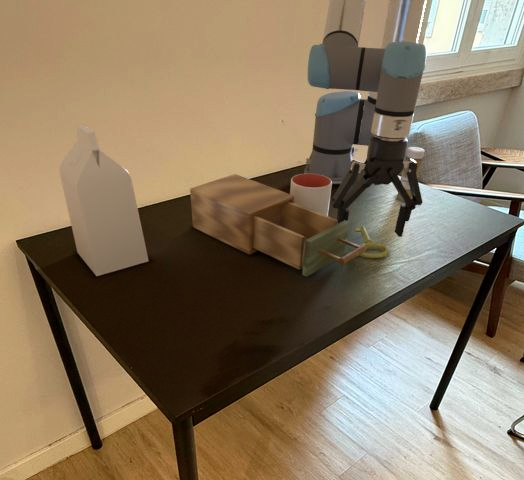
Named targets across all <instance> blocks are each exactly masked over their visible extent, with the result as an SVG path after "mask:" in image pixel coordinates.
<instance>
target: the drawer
mask: <svg viewBox="0 0 524 480" xmlns="http://www.w3.org/2000/svg"><path fill="white" fill-rule="evenodd" d="M252 217H253V218H252V248H255V249H257V250H259V251H258V252H261V253H263V254H265V255H267V256H269V257H272V258H274V259H276V260H278V261H280V262H282V263H284V264H286V265H288V266H291V267H293V268H294V269H297V270H299V271H301V270H302V271H301V272H302V273H301V275H302V276H304V277H306V278H307V277H308V276H310V275H312V274H314V273H315V272H317V271H319V270H321V269H322V268H324V267H325V266H328V265H329V264H331V263H333V262H335V261H337V262H338V264H339V265H340V266H344V265H345V264H347V263H349V262H350V261H352V260H353V259H356V258H357V257H360V256H359V255H360V254H362V253H364V252H365V253H366V252H367V250H368V249H367V247H366V246H365V245H362V246H359V245H360V244H357V243H354V242H351V241H349V240H347V239H348V233H349V227H350V221H349V220H348V221H346V220H344V221H342V222H340V223H338V220H336V219H337V218H334V217H331V216H329V215H328V216H326V215H323V214H321V213H318V212H315V211H313V210H310V209H307V208H305V207H302V206H299V205H297V204H294V203H292V202H289V201H288V202H286V203H284V204H281V205H279V206H276V207H274V208H272V209H269V210H267V211H264V212H262V213H260V214H257V215H255V216H252ZM346 245H347V246H349V247H352V248H354V249H353V250H352V251H350V252H348V253H346V254H345V252H346Z"/></svg>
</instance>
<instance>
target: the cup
mask: <svg viewBox="0 0 524 480" xmlns="http://www.w3.org/2000/svg"><path fill="white" fill-rule="evenodd" d="M332 187H333V186H332V181H331V179H329V178H328V177H326V176H323V175H319V174H304V173H300V174H296V175H294V176H292V177H291V179H290V188H289V194H291V195H293V196H294V204H297V205H299V206H302V207H305V208H307V209H310V210H313V211H315V212H318V213H321V214H323V215H326V216H328V217H329V209H330V204H331V203H330V201H331V194H332Z"/></svg>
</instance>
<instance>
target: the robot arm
mask: <svg viewBox="0 0 524 480" xmlns="http://www.w3.org/2000/svg"><path fill="white" fill-rule="evenodd" d="M366 2H367V0H329V2H328V8H327V14H326V20H325V24H324V25H325V26H324V31H323V37H322V42H321V43H319V44H313V45H312V46H311V47H310V50H309V54H308V62H307V83H308V85H309V86H310V87H314V88H319V89H326V90H330V89H331V90H341V91H333V92H328V93H325V94H323V95H322V96H319V98H318V100H317V102H316V109H315V113H314V117H315V120H314V130H313V140H312V149H311V153H310V155H309V158H307V157H306V160H305V164H306V166H305V167H304V171H303V172H304V173H303V174H319V175H323V176H326V177H328V178H329V179H331V181H332V187H337V189H336V191H335V192H334V194H333V196H332V197H331V198H330V203H329V204H331V206H332V207H333V209H337V214H336V218H335V219H336V220H338V222H337V224H338V223H340V222H342V221H344V220H346V221H349V214H350V210H349V209H348V208H349V207H350V206H351V205H352V204H353V203H354V202H356V200H357V199H358V198H359V197H360V196H361V195H362V194H363V192H364V191H366V189H368V188H370V187H371V186H372V185H375V186H379V185H385V186H387V185H390V184H391V183H392V185H393V186H394V188H395V190H396V192H397V194H398V193H399V195H400V196H401V198H402V200H401V201H402V202H403V204H400V206H399V211H398V215H397V219H396V223H395V227H394V230H393V231H394V233H395V234H396V236H397V237H398V238H402V237H403V234H404V229H405V226H406V223H407V222H409V221H410V218H411V215H412V211H414V210H415V209H416V206H421V205H423V197H422V194H421V188H420V184H419V179H418V178H417V175H416V171H417V163H416V162H415V161H413V160H412V159H409V160H408V161H406V162H405V161H404V159H405V158H406V152H407V149H408V143H409V140H408V139H407V138H408V137H409V136H410V134H411V130H412V125H413V120H414V115H415V111H416V104H417V100H418V96H419V93H420V87H421V83H422V79H423V75H424V71H425V70H426V67H427V66H426V61H427V54H428V46H426V45H425V44H424V43H421V42H419V41H418V40H419V36H420V32H421V27H422V22H423V19H424V18H423V17H424V12H425V8H426V4H427V0H388V5H387V13H386V18H385V23H384V24H385V25H384V30H383V36H382V42H381V47H380V48H378V47H366V46H365V47H362V46H359V44H360V38H361V32H362V28H363V27H362V26H363V21H364V13H365V8H366ZM358 91H360V92H368V93H367V98H361V95H360V92H358ZM353 145H355V146H353ZM356 145H357V146H366V147H367V152H366V159H365V160H364V162H359V161H356V159H353V157H354V155H355V154H356V153H355V152H356ZM403 168H404V170H405V171H406V173H407V177H408V182H409V186H410V190H411V194H412V199H411V198H410V197H409V195H408V193H407V192H406V190H405V188H404V186H403V185H402V182H401V181H400V180H401V178H400V177H399V175H400V174H401V173H402V171H403ZM362 171H364V173H363V175H361V177H360V178H359V180H358V181H357V182H356V183H355V181H356V180H357V178H358V175H359V174H361V173H362ZM354 183H355V184H354ZM353 184H354V186H353ZM352 186H353V187H352Z"/></svg>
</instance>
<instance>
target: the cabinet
mask: <svg viewBox="0 0 524 480" xmlns="http://www.w3.org/2000/svg"><path fill="white" fill-rule="evenodd" d="M189 193H190V194H189V195H190V206H191V208H190V209H191V218H192V219H191V220H192V228H194V229H196V230H198V231H200V232H202V233H204V234H206V235H208V236H210V237H212V238H214V239H216V240H218V241H220V242H222V243H224V244H227V245H229V246H231V247H232V248H235V249H237V250H239V251H240V252H243V253H245V254H247V255H249V256H250V255H252V254H254V253H257V252H260V251H259V250H257V249H255V248H252V218H253V217H252V216H255V215H257V214H260V213H262V212H264V211H267V210H269V209H272V208H274V207H276V206H279V205H281V204H284V203H286V202H288V201H289V202H292V203H294V196H293V195H291V194H290V193H288V192H285V191H283V190H280V189H277V188H274V187H271V186H269V185H266V184H264V183H261V182H259V181H255V180H252V179H250V178H247V177H245V176H242V175H239V174H236V173H233V174H230V175H228V176H224V177H221V178H218V179H215V180H212V181H209V182H206V183H203V184H199V185H197V186H194V187H191V188H189Z"/></svg>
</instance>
